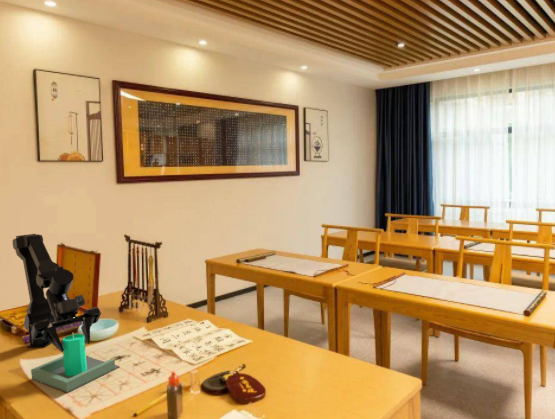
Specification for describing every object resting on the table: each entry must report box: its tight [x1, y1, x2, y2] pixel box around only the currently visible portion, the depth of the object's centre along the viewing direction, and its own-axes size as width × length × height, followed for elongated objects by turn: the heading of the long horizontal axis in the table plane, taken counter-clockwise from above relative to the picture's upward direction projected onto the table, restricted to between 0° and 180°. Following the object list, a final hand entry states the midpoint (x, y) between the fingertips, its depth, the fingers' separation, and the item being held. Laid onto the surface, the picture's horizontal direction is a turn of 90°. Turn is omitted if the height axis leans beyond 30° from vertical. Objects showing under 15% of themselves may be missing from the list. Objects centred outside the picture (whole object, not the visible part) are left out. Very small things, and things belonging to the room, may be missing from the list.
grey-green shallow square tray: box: [30, 355, 120, 394], centre depth 128 cm, size 17×17×3 cm
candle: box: [61, 333, 87, 376], centre depth 128 cm, size 6×6×12 cm
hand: (76, 347), depth 126 cm, fingers open, 7 cm apart
